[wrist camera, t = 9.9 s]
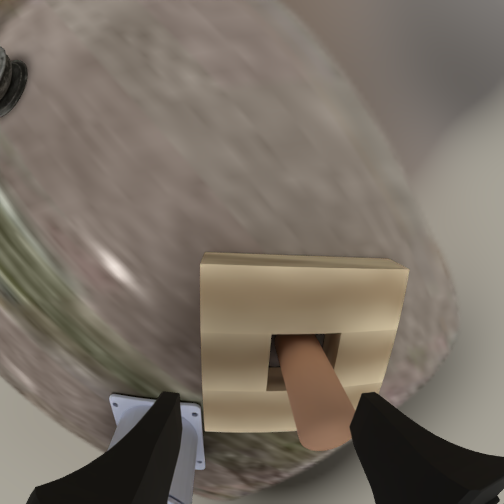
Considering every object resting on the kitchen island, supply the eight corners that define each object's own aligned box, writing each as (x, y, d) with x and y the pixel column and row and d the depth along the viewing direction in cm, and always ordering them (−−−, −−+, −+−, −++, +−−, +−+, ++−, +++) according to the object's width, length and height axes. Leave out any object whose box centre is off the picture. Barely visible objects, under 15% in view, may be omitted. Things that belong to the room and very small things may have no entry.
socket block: (356, 400, 23) (368, 421, 20) (207, 406, 22) (204, 431, 19) (388, 258, 20) (409, 269, 17) (204, 252, 19) (200, 263, 16)
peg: (312, 356, 22) (352, 445, 12) (273, 358, 21) (296, 454, 12) (316, 321, 21) (365, 405, 12) (275, 323, 21) (303, 413, 11)
